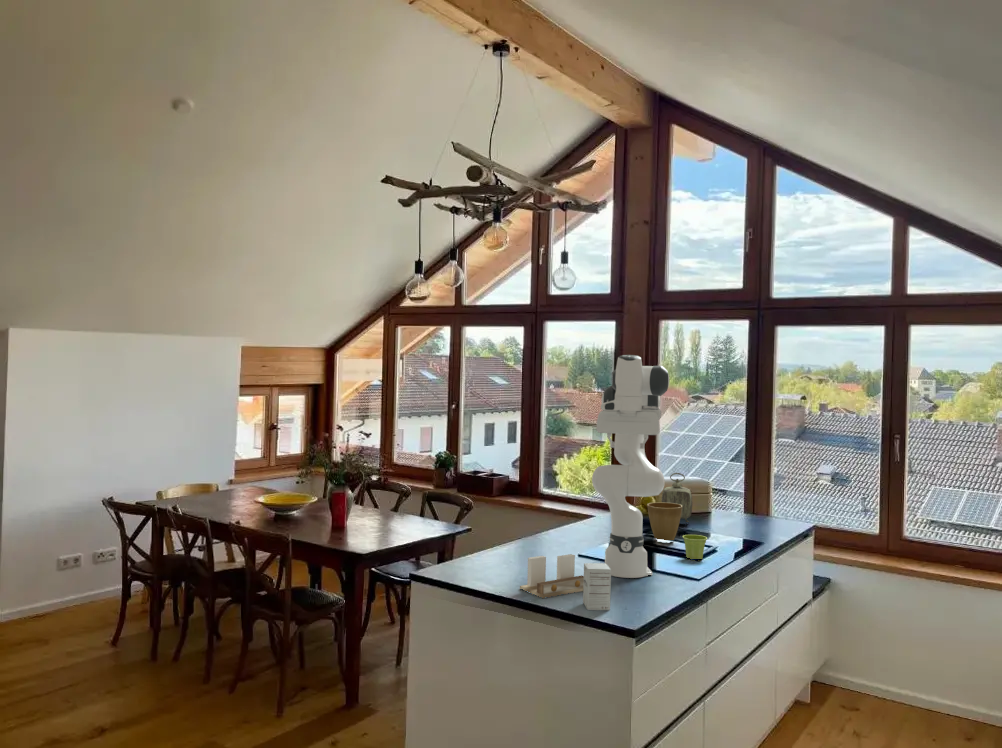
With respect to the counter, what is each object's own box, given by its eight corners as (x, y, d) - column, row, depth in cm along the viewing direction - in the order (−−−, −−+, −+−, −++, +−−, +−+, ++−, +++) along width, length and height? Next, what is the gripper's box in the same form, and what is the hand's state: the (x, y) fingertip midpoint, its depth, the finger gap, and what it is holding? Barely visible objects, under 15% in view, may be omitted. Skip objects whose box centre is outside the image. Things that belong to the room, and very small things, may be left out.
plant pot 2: (707, 562, 306) (707, 540, 306) (682, 560, 307) (682, 538, 307) (706, 557, 315) (706, 535, 315) (681, 555, 317) (682, 533, 317)
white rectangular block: (527, 585, 260) (527, 557, 260) (541, 582, 263) (542, 555, 263) (531, 586, 258) (531, 559, 258) (545, 584, 262) (546, 556, 262)
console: (519, 589, 261) (520, 576, 261) (563, 581, 272) (564, 569, 272) (543, 598, 251) (543, 585, 251) (587, 590, 262) (588, 577, 262)
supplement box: (582, 603, 247) (583, 562, 247) (605, 603, 247) (606, 563, 247) (586, 610, 239) (587, 568, 239) (610, 610, 240) (611, 568, 240)
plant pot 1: (658, 536, 353) (659, 500, 353) (688, 542, 343) (688, 505, 343) (639, 541, 342) (640, 504, 342) (669, 547, 332) (670, 509, 332)
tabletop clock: (691, 523, 387) (692, 472, 387) (692, 527, 378) (693, 474, 378) (661, 522, 389) (662, 471, 389) (661, 525, 381) (662, 473, 381)
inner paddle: (556, 583, 263) (557, 556, 263) (570, 580, 267) (570, 554, 267) (560, 584, 262) (561, 557, 262) (574, 582, 265) (574, 555, 265)
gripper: (661, 405, 256) (660, 448, 256) (597, 403, 260) (596, 445, 260) (661, 406, 250) (660, 450, 250) (596, 404, 254) (595, 447, 254)
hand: (627, 448), depth 255 cm, fingers open, 8 cm apart
